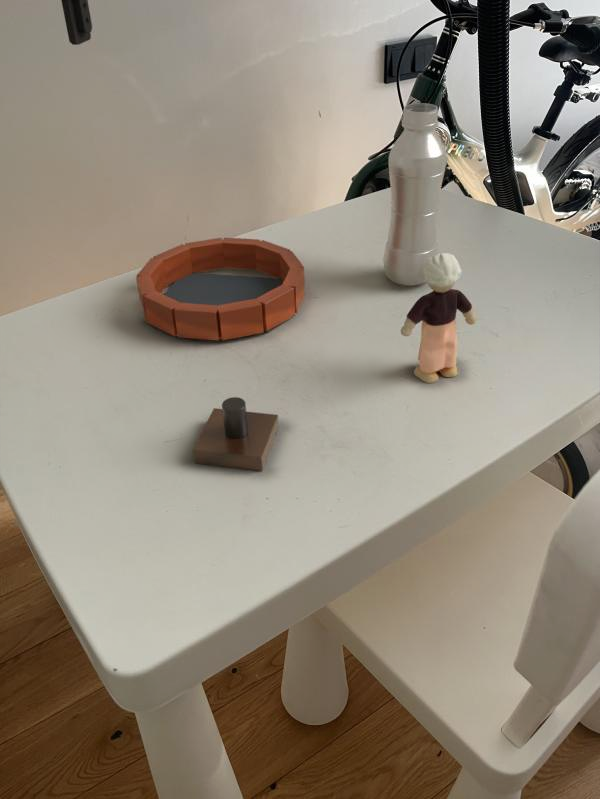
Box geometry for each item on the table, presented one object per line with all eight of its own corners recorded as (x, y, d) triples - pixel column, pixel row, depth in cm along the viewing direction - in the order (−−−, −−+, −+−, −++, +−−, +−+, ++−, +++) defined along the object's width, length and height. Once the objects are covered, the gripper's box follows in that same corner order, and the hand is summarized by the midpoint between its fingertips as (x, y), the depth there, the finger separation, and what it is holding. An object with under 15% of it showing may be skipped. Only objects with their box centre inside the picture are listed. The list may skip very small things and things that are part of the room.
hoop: (116, 332, 80) (111, 304, 78) (174, 258, 95) (171, 234, 93) (282, 346, 77) (281, 318, 75) (316, 268, 91) (315, 242, 89)
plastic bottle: (372, 284, 88) (378, 111, 77) (398, 262, 93) (407, 96, 81) (421, 297, 85) (434, 119, 74) (445, 274, 90) (462, 103, 78)
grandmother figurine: (449, 353, 76) (461, 237, 68) (474, 370, 73) (490, 252, 65) (389, 376, 73) (394, 258, 65) (413, 395, 70) (422, 274, 62)
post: (194, 463, 63) (188, 421, 60) (215, 420, 68) (210, 380, 65) (262, 471, 62) (259, 429, 59) (278, 427, 66) (276, 387, 64)
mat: (147, 323, 83) (146, 319, 82) (182, 275, 92) (182, 271, 92) (267, 333, 80) (267, 329, 80) (291, 282, 89) (291, 279, 89)
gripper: (101, -192, 61) (134, 34, 71) (-83, -182, 64) (-26, 33, 74) (59, -198, 55) (102, 50, 65) (-141, -186, 58) (-71, 49, 68)
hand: (34, 41), depth 70 cm, fingers open, 9 cm apart
